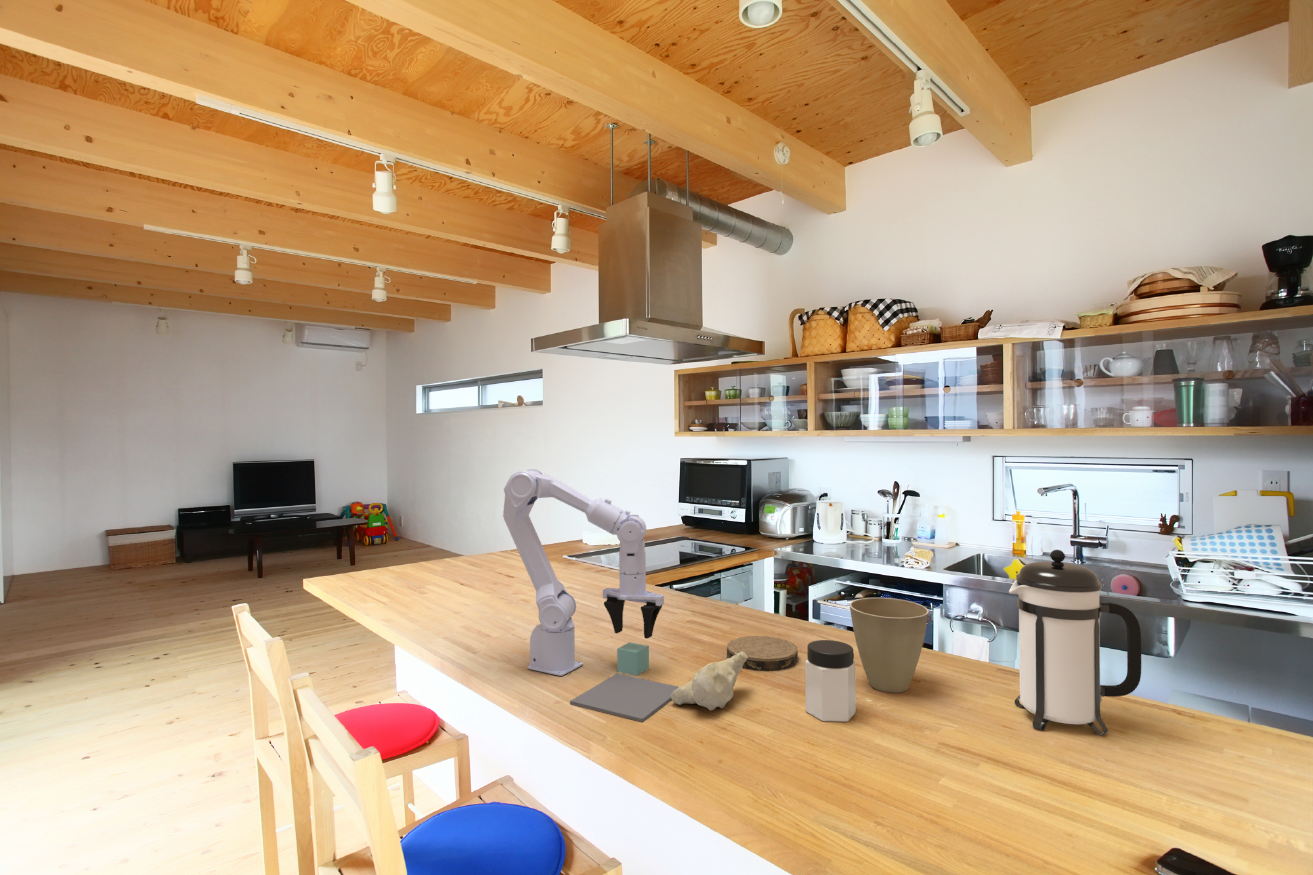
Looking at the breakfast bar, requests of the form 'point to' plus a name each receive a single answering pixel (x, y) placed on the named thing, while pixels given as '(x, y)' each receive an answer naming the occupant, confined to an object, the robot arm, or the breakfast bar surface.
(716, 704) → the conch shell
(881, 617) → the plant pot
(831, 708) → the jar
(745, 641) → the round wood slice
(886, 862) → the breakfast bar surface
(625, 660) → the block
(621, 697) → the mat
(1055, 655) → the coffee press
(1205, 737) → the breakfast bar surface
